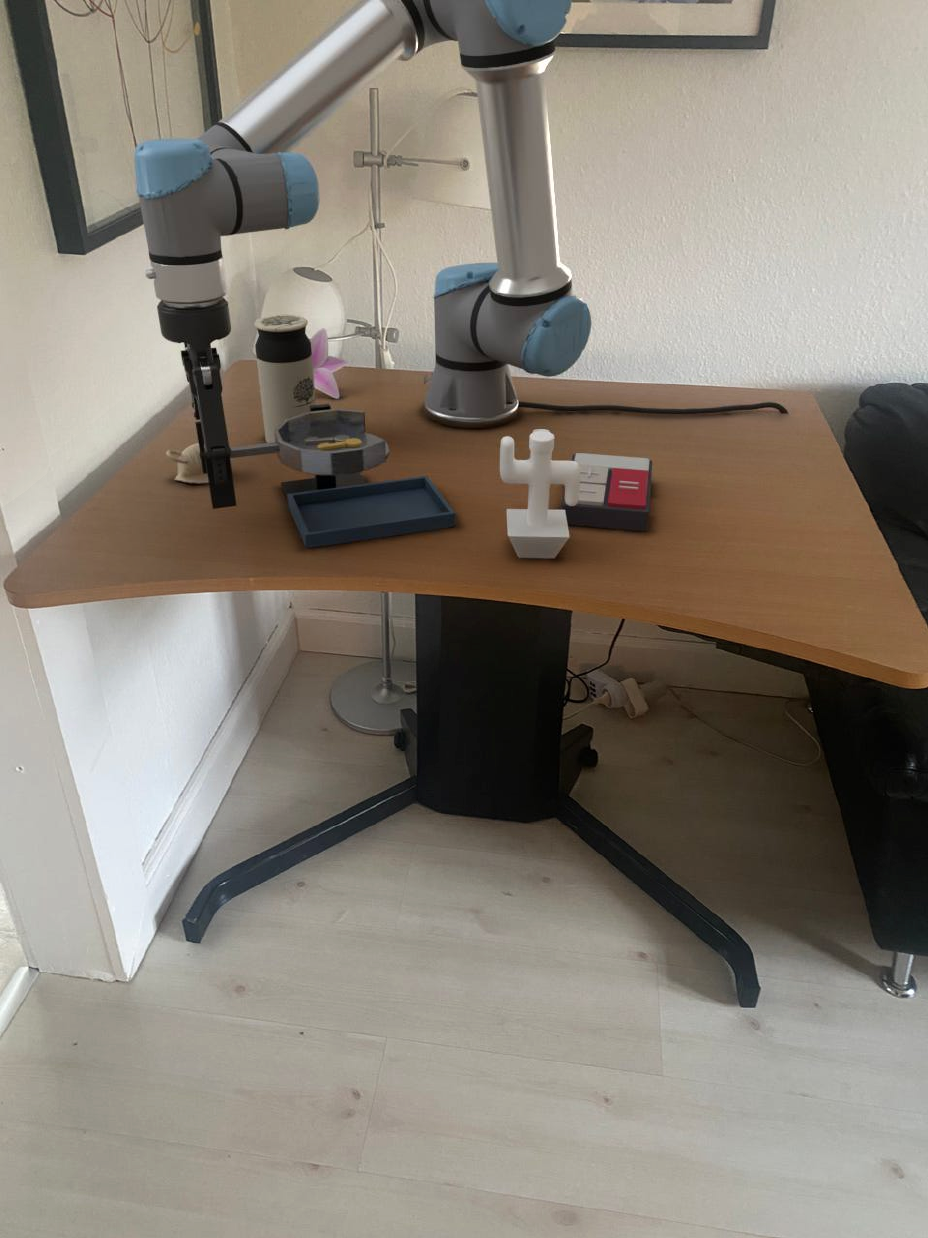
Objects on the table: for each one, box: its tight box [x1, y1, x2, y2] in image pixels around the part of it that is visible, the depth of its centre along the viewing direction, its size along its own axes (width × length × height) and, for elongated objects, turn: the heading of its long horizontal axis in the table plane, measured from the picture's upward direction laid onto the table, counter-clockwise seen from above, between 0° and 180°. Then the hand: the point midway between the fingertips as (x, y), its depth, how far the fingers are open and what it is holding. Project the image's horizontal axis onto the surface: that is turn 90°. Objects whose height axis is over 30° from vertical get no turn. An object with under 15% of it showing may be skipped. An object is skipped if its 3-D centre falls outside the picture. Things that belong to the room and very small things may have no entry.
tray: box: [287, 475, 456, 549], centre depth 123 cm, size 19×12×2 cm, turn 109°
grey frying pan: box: [204, 408, 390, 476], centre depth 116 cm, size 22×15×3 cm, turn 109°
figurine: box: [499, 428, 580, 559], centre depth 113 cm, size 7×9×15 cm
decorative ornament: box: [165, 442, 209, 485], centre depth 132 cm, size 4×8×5 cm, turn 129°
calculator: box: [560, 452, 653, 533], centre depth 127 cm, size 11×4×15 cm
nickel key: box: [305, 435, 350, 444], centre depth 120 cm, size 6×2×1 cm, turn 101°
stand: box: [280, 403, 367, 503], centre depth 127 cm, size 11×5×12 cm, turn 109°
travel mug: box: [254, 314, 317, 443], centre depth 141 cm, size 8×8×18 cm
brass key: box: [317, 438, 361, 450], centre depth 119 cm, size 6×2×1 cm, turn 113°
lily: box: [309, 327, 348, 400], centre depth 162 cm, size 12×12×10 cm
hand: (219, 488), depth 115 cm, fingers open, 10 cm apart
